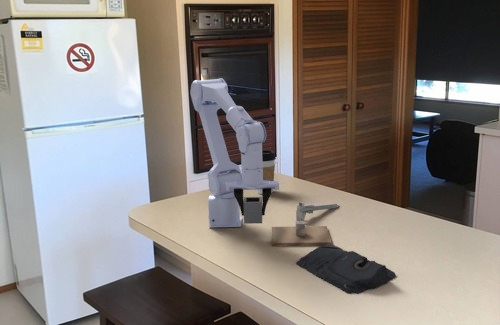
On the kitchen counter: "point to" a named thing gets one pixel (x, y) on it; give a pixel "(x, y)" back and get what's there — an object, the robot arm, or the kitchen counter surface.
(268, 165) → the coffee cup
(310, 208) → the caliper
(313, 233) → the post base
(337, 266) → the dark slate chunk
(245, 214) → the steel collar
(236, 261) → the kitchen counter surface
